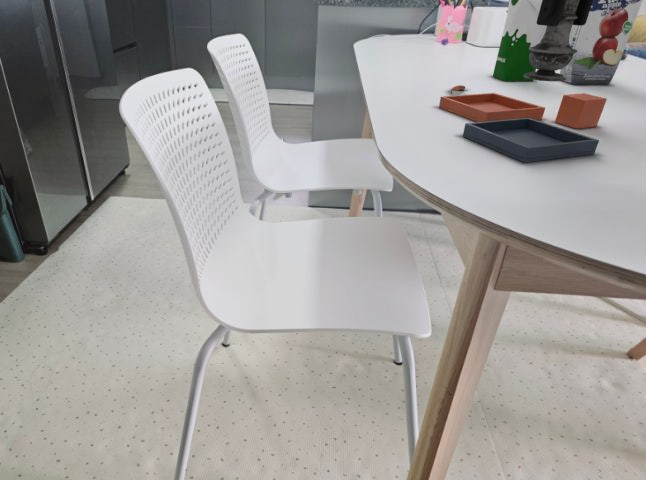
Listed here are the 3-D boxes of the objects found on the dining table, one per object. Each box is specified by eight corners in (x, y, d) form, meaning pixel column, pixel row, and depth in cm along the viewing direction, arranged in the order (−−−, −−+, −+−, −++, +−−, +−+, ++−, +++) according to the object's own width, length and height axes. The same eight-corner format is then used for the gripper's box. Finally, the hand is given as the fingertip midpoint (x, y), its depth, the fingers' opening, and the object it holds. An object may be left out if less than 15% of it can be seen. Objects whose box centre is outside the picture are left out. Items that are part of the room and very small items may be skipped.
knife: (462, 97, 94) (446, 95, 95) (461, 100, 94) (446, 98, 95) (468, 85, 104) (454, 84, 105) (467, 88, 104) (453, 87, 105)
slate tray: (525, 130, 76) (528, 117, 75) (594, 154, 66) (599, 140, 65) (462, 136, 73) (465, 123, 72) (524, 162, 62) (528, 148, 61)
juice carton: (552, 79, 116) (592, -54, 101) (594, 79, 116) (641, -54, 101) (571, 85, 108) (617, -57, 94) (616, 86, 108) (670, -57, 94)
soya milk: (487, 75, 120) (508, -17, 109) (522, 75, 120) (547, -17, 109) (501, 82, 112) (526, -16, 101) (539, 82, 112) (567, -16, 102)
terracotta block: (574, 120, 82) (584, 93, 79) (596, 126, 78) (607, 98, 76) (554, 122, 81) (563, 94, 78) (575, 128, 77) (585, 100, 75)
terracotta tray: (491, 103, 93) (493, 92, 92) (542, 119, 82) (545, 107, 81) (438, 107, 89) (440, 96, 88) (484, 124, 79) (487, 112, 78)
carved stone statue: (570, 77, 65) (603, -26, 59) (565, 83, 61) (600, -27, 54) (525, 72, 68) (551, -26, 61) (517, 78, 64) (544, -26, 57)
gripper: (586, -182, 46) (530, 29, 56) (706, -168, 50) (634, 26, 60) (529, -164, 52) (488, 24, 62) (640, -152, 56) (585, 21, 66)
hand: (560, 23), depth 61 cm, fingers closed on carved stone statue, 3 cm apart
